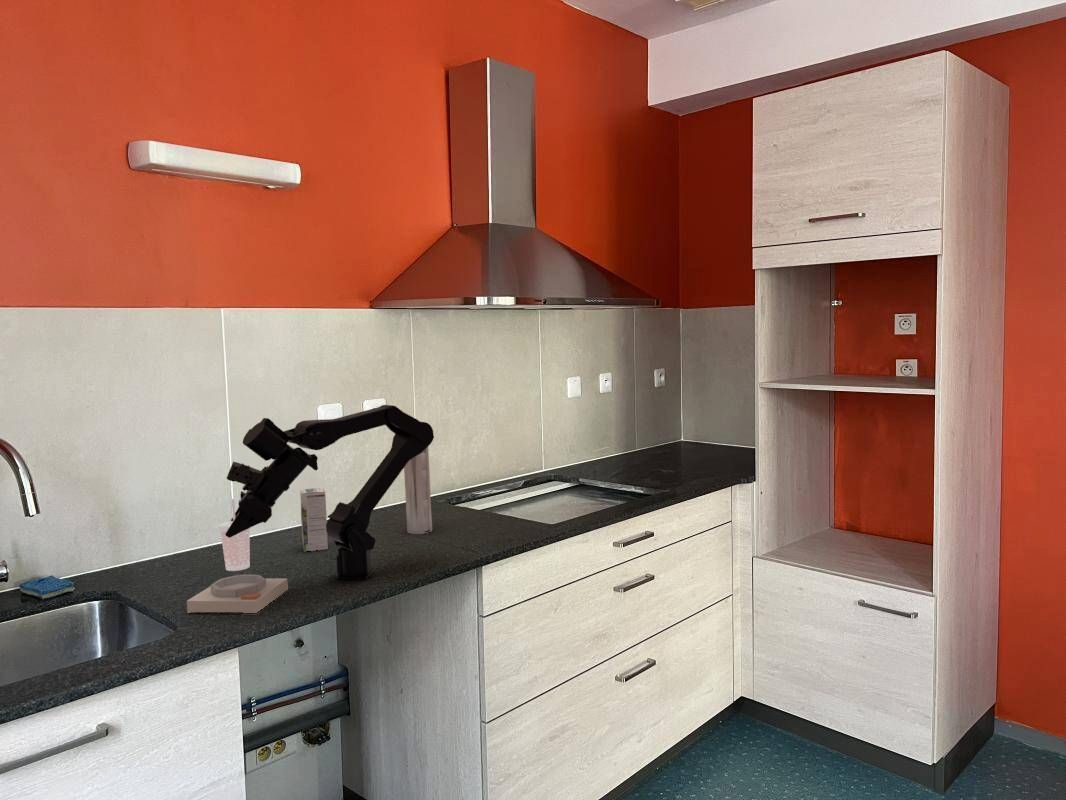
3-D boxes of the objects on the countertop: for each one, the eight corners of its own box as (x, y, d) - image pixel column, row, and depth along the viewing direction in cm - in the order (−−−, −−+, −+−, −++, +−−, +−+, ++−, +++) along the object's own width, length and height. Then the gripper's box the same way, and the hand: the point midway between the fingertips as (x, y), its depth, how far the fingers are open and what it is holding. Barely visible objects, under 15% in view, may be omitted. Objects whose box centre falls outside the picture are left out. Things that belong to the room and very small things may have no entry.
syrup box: (302, 547, 202) (298, 489, 201) (326, 544, 204) (323, 486, 203) (304, 552, 197) (300, 493, 196) (329, 549, 199) (325, 490, 198)
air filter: (408, 535, 210) (403, 439, 208) (405, 529, 216) (401, 436, 214) (434, 533, 212) (429, 437, 209) (430, 527, 218) (425, 434, 216)
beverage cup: (225, 574, 160) (220, 503, 159) (218, 567, 165) (213, 499, 164) (257, 568, 164) (252, 499, 162) (249, 561, 169) (244, 494, 168)
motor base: (288, 590, 168) (286, 571, 168) (257, 614, 154) (255, 593, 154) (224, 590, 170) (222, 571, 170) (187, 613, 156) (186, 593, 156)
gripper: (251, 441, 172) (199, 498, 170) (248, 453, 155) (190, 517, 152) (292, 475, 175) (241, 531, 173) (294, 490, 158) (238, 553, 155)
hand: (227, 532), depth 163 cm, fingers closed on beverage cup, 6 cm apart
